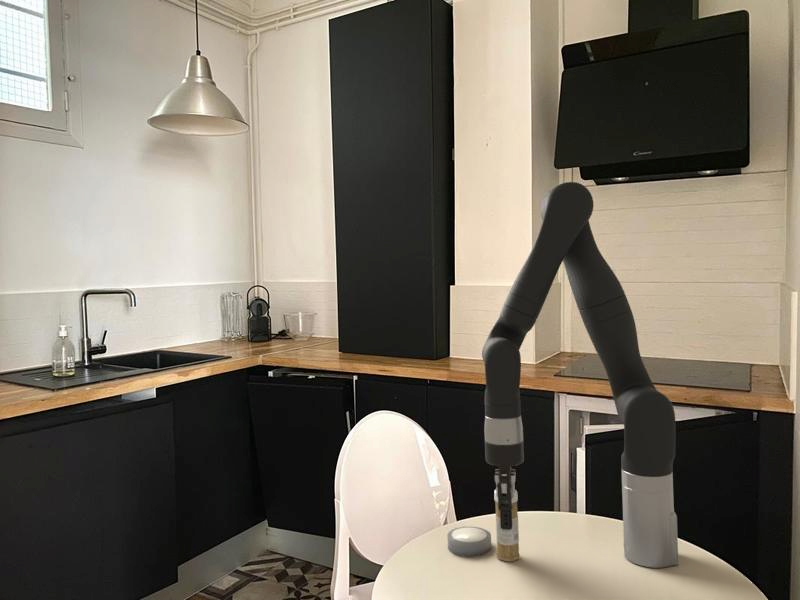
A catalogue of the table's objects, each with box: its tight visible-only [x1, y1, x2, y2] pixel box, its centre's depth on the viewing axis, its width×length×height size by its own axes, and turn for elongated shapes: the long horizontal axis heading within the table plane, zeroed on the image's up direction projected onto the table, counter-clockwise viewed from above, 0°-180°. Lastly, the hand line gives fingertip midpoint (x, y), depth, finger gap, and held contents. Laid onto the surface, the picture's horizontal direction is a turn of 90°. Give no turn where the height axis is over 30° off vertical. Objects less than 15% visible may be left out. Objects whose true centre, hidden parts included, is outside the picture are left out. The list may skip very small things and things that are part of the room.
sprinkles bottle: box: [493, 489, 520, 562], centre depth 121 cm, size 5×5×13 cm
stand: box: [446, 526, 492, 558], centre depth 127 cm, size 9×9×3 cm
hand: (506, 523), depth 121 cm, fingers closed on sprinkles bottle, 4 cm apart
